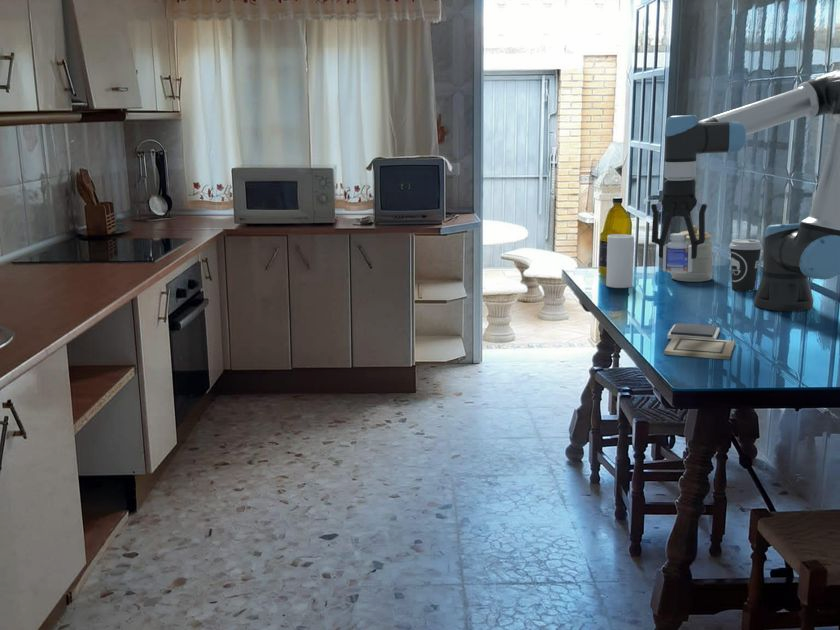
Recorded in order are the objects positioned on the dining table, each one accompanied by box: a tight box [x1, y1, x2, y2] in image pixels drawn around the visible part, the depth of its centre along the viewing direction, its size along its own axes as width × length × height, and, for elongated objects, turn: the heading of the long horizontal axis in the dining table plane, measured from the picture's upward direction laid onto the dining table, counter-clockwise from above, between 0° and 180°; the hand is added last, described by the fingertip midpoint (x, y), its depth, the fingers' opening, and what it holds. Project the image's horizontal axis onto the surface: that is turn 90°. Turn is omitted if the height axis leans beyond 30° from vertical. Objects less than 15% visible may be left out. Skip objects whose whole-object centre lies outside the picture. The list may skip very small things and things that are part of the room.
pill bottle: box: [666, 232, 689, 274], centre depth 218 cm, size 5×5×10 cm
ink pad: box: [666, 322, 721, 340], centre depth 210 cm, size 11×11×2 cm
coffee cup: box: [728, 238, 763, 292], centre depth 262 cm, size 10×10×15 cm
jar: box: [670, 224, 715, 283], centre depth 281 cm, size 13×13×18 cm
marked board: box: [663, 337, 736, 360], centre depth 198 cm, size 14×14×1 cm
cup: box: [605, 233, 635, 289], centre depth 273 cm, size 8×8×16 cm
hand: (677, 270), depth 219 cm, fingers closed on pill bottle, 5 cm apart
